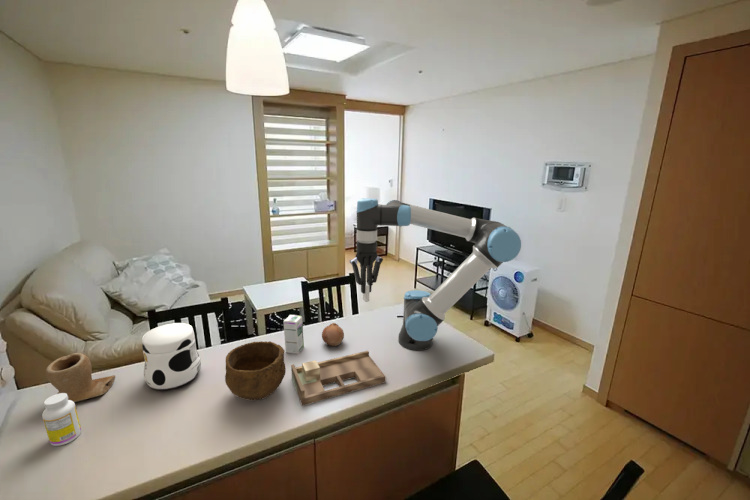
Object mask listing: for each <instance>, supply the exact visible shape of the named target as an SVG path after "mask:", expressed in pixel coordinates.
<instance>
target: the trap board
mask: <svg viewBox="0 0 750 500" xmlns="http://www.w3.org/2000/svg"><path fill="white" fill-rule="evenodd" d="M317 363H318V365H319V367H320V378H317V379H313V380H309V381H306V380H305V378H304V375H303V372H302V365H301V366H297V367H296V365H295V364H291V365H290V366H291V380H292V382H293V385H294V388H295V391H296V393H297V395H298V396H297V397H298V399H299V402H300V404H301V407H303V406H307V405H311V404H313V403H317V402H321V401H324V400H327V399H332V398H334V397H338V396H343V395H346V394H349V393H352V392H356V391H359V390H363V389H366V388H370V387H373V386H377V385H381V384H384V383H386V379H387V376H386V374H385V373H384V372H383V371H382V370H381V368H380V367H379V366H378V365H377V363H376V362H375V361H374V360H373V358H372V357H371V356H370V351H369V350H365V351H361V352H357V353H351V354H348V355H345V356H344V355H343V356H340V357H339V356H338V357H336V358H335V357H334V358H331V359H330V358H329V359H327V360H322V361H317ZM353 378H355V380H356V381H355V382H352V383H348V384H345V383H344V381H346V380H350V379H353ZM335 383H336V384H337V387H334V388H330V389H327V390H325V388H324V386H327V385H331V384H335Z"/></svg>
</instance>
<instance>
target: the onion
mask: <svg viewBox="0 0 750 500" xmlns="http://www.w3.org/2000/svg"><path fill="white" fill-rule="evenodd" d="M321 338H322V340H323V342H324V343H325V345H326V346H328V347H332V348H333V347H337V346H339V345H340V344H342V342H343V341H344V338H345V333H344V330H343V328H341V326H339V324H338V323H335V322H332V323H330V324H328V325H327V326H325V327H324V328H323V330H322V332H321Z"/></svg>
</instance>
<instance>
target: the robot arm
mask: <svg viewBox="0 0 750 500" xmlns="http://www.w3.org/2000/svg"><path fill="white" fill-rule="evenodd" d="M410 225H413V226H416V227H421V228H424V229H429V230H433V231H437V232H441V233H445V234H448V235H453V236H457V237H461V238H465V240H466V242H470V243H474V244H473V246H472V252H471V254H470V255H469V256H467V257H466V259H465V260H464V261H463V262H461V264H460V265H459V266H458V267H456V269H455V270H454V271H453V272H452V273H451V274H450V275H449V276H448V277H447V278H446V279H445V280H444V281H443V282H441V284H440V285H439V286H438V287H437V288H436V289H435V290H434V291H433V292H432V293H430V292H428V291H425V290H421V289H420V290H419V289H418V290H417V289H414V290H408V291H406V292H405V293H404V297H403V316H402V317H403V318H402V326H401V328H400V330H399V333H398V340H397V341H398V343H399V344H400V345H401V346H402V347H403V348H405V349H407V350H412V351H425V350H428V349H430V348H431V347H432V346H433V344H434V337H436V336H437V335H436V334H437V332H438V327H439V325H441V324H442V323H443V321H445V319H446V313H447V312H448V311H449V310H450V309H451V308H452V307H453V306H454V305H455V304H456V303H457V302H458V301H459V300H460V299H461V298H463V296H464V295H465V294H466V293H468V291H469V290H470V289H472V287H474V286H475V284H477V283H478V281H480V280H481V279H482V277H483V276H485V274H486V273H488V272H489V271H490V270H491V269H498V268H499V267H500V266H501V265H502V264H503V263H506V262H507V263H508V262H511V261H512V260H514V259H516V258H517V256H518V255H519V253H520V252H521V249H522V240H521V237H520V235H519V234H518V233H517V232H516V231H515V229H513V228H511V227H510V226H507V225H505V224H504V223H502V222H500V221H496V220H487V219H482V218H477V217H472V218H466V217H463V216H458V215H454V214H450V213H446V212H442V211H437V210H434V209H430V208H426V207H422V206H418V205H413V204H408V203H405V202H403V201H400V200H397V199H392V200H389V201H388V202H387V203H386V204H380V203H379V201H378V199H377V198H371V197H364V198H359V199H358V200H357V202H356V240H357V241H356V254H355V256H354V258H353V259H350V260H349V263H350V264H351V266H352V270H353V275H354V279H355V283H356V284H357V285H359V286H360V293H362V300H363V301H364V302H366V303H368V302H370V293H372V286H373V285H374V283H377V281H378V276H379V272H380V269H381V264H382V263H383V261H384V258H382V257H381V256H379V255H378V252H377V251H378V242H377V240H378V226H380V227H381V226H386V227H387V226H389V227H400V228H401V227H408V226H410ZM358 263H359V266H360V271H359V267H358Z"/></svg>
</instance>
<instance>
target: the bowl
mask: <svg viewBox="0 0 750 500" xmlns="http://www.w3.org/2000/svg"><path fill="white" fill-rule="evenodd" d="M285 353H286V350H285V349H284V348H283V347H282V345H280V344H277V343H275V342H272V341H253V342H248V343H244V344H241V345H238V346H236V347H235V348H233V349H231V350H230V351H229V352H228V353H227V355H226V356H225V375H224V378H225V380H224V381H225V385H226V386H227V388H228V389H229V391H230V392H231V393H232V394H233V395H234V396H236V397H237V398H240V399H243V400H247V401H259V400H260V401H261V400H264V399H266V398H268V397H269V396H271V395H272V394H274V392H275V391H277V389H278V388H279V387H280V386H281V384H282V382H283V379H284V378H285V375H286V363H285Z"/></svg>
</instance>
